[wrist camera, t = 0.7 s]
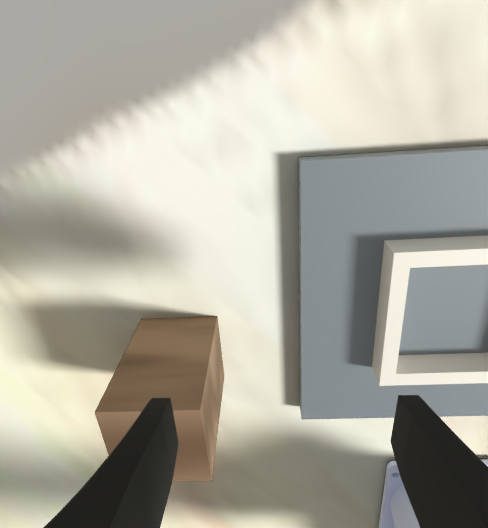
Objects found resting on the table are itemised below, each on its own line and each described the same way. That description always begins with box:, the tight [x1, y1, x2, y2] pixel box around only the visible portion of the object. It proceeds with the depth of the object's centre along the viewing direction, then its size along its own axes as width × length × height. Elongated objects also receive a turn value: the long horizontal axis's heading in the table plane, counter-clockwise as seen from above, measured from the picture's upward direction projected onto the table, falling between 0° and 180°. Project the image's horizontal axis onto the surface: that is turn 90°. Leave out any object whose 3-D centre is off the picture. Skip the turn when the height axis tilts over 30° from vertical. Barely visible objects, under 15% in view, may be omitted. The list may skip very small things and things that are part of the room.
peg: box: [95, 316, 224, 481], centre depth 20 cm, size 4×4×7 cm
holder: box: [298, 145, 488, 419], centre depth 20 cm, size 16×16×2 cm
